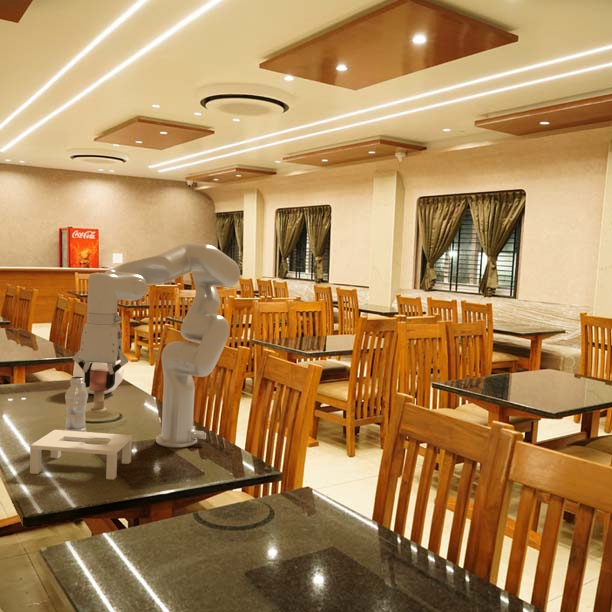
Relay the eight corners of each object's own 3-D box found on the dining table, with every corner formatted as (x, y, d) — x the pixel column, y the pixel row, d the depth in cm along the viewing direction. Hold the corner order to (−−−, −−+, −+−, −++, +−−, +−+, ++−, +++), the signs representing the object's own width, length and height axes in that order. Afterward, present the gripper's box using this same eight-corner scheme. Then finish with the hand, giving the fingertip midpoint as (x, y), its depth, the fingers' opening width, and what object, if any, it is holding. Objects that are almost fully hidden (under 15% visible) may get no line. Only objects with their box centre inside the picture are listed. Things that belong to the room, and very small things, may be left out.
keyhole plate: (131, 461, 171) (132, 435, 170) (113, 479, 157) (114, 451, 156) (53, 455, 171) (54, 429, 171) (29, 473, 157) (30, 445, 157)
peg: (111, 409, 165) (112, 369, 164) (104, 414, 160) (105, 373, 159) (92, 408, 165) (94, 368, 164) (85, 412, 160) (86, 371, 159)
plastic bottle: (58, 443, 182) (60, 377, 180) (76, 438, 188) (78, 374, 186) (73, 447, 179) (75, 381, 177) (91, 442, 185) (93, 377, 183)
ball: (100, 406, 250) (120, 364, 260) (118, 400, 235) (139, 355, 245) (57, 386, 242) (80, 343, 252) (74, 377, 227) (97, 332, 237)
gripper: (138, 320, 164) (135, 386, 166) (76, 316, 165) (74, 382, 166) (129, 323, 157) (126, 392, 158) (64, 318, 157) (61, 387, 159)
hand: (99, 386), depth 162 cm, fingers closed on peg, 5 cm apart
